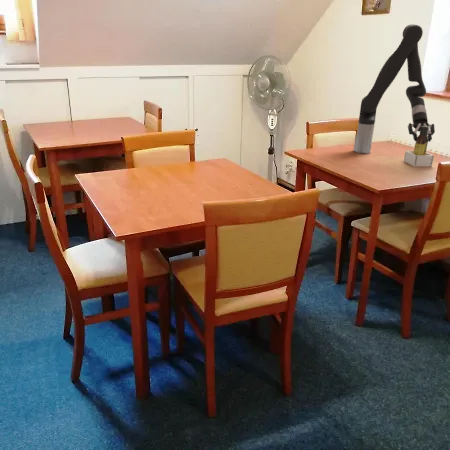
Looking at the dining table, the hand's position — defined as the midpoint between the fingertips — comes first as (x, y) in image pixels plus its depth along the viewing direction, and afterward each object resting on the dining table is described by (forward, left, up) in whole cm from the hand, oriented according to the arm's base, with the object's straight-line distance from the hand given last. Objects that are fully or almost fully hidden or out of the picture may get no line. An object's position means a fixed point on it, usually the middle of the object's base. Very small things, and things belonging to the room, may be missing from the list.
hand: (423, 140), depth 250 cm
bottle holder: (0, +2, -13) cm, 13 cm away
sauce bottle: (0, +2, -13) cm, 13 cm away
